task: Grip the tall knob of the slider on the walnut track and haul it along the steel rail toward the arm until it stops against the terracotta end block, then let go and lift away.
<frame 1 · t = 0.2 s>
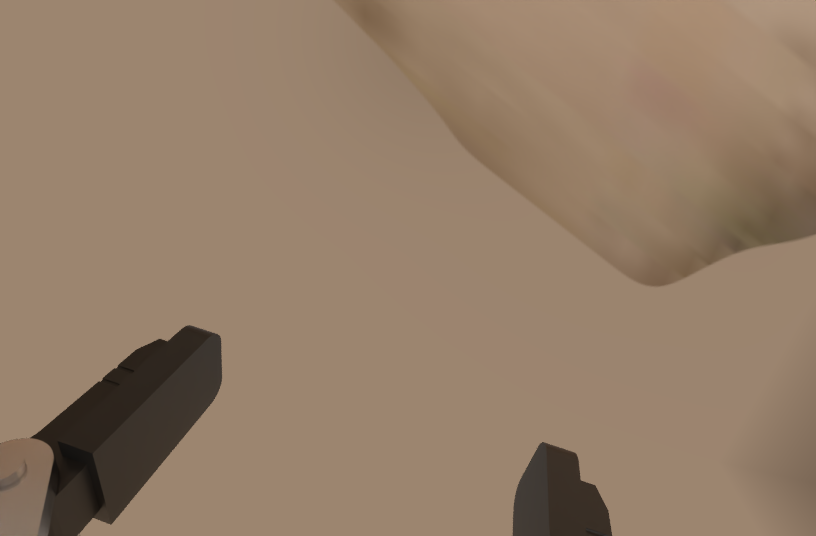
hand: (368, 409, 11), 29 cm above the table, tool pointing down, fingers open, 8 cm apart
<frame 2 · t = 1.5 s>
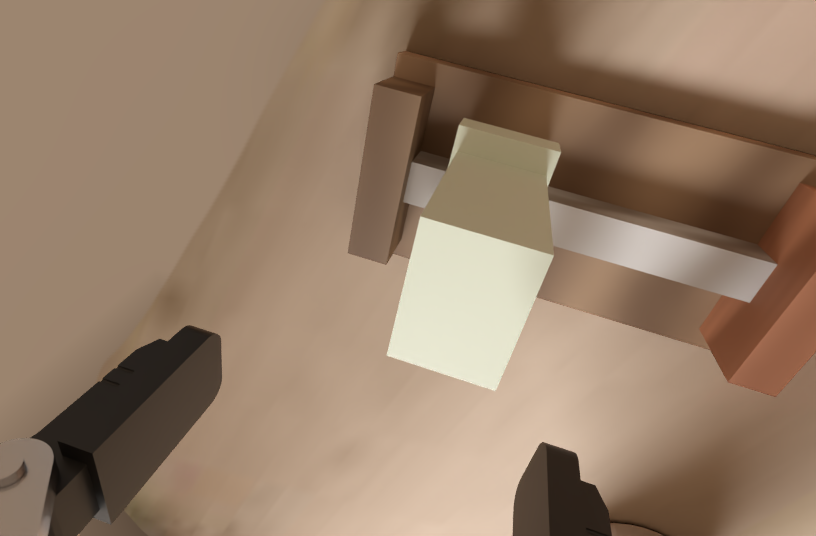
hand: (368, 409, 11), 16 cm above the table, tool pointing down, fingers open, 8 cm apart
slider: (478, 238, 17), point 7 cm above the table, slide at 0.0 cm
track: (572, 204, 23), on the table
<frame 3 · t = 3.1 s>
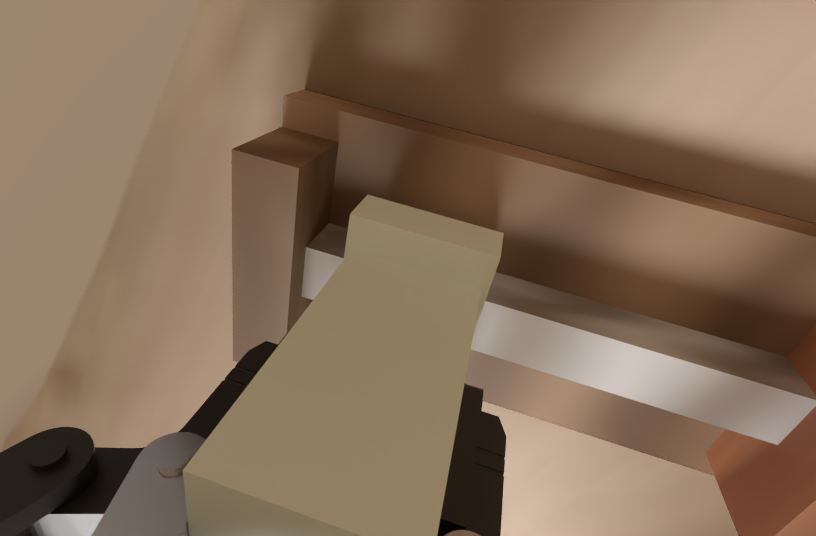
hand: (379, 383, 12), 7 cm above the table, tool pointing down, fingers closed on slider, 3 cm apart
slider: (381, 382, 12), point 7 cm above the table, slide at 0.0 cm, touching gripper
track: (535, 288, 17), on the table
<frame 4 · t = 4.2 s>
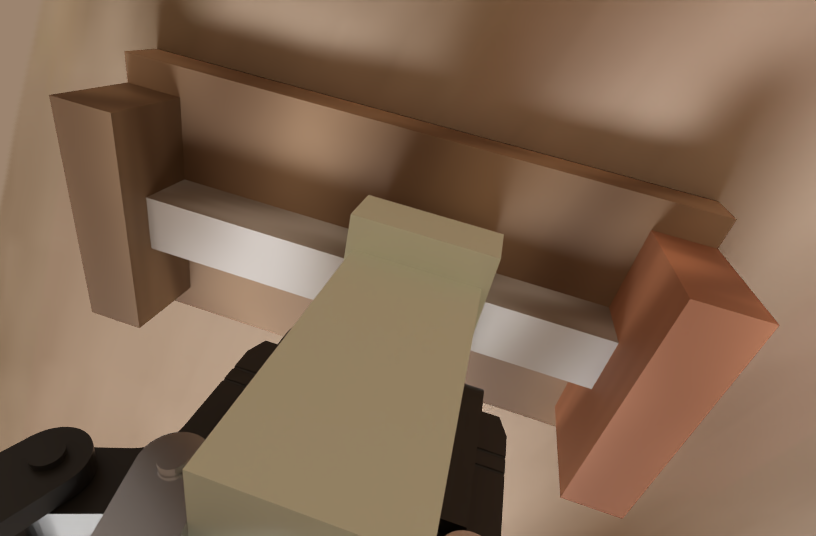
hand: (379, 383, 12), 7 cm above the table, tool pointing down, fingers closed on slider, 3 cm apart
slider: (380, 382, 12), point 7 cm above the table, slide at 5.9 cm, touching gripper
track: (392, 246, 18), on the table
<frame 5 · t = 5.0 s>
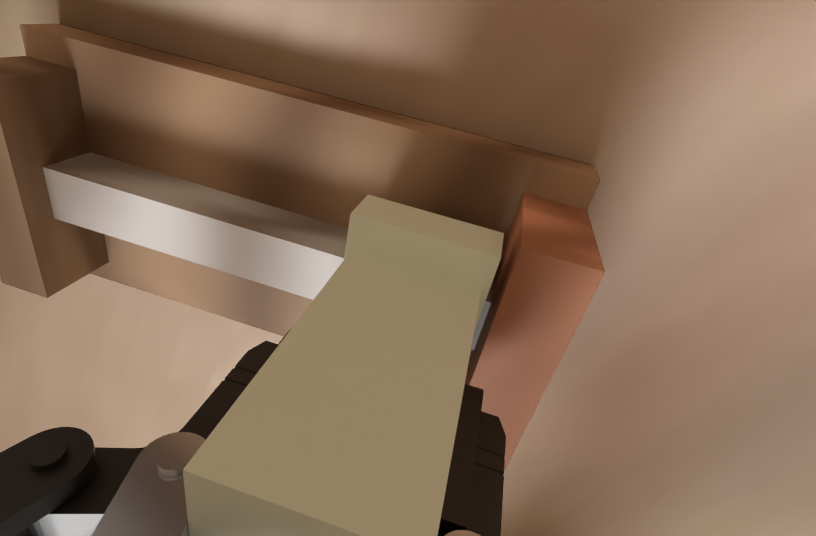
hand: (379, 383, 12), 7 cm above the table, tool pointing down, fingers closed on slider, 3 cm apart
slider: (381, 382, 12), point 7 cm above the table, slide at 9.8 cm, touching gripper
track: (299, 218, 18), on the table
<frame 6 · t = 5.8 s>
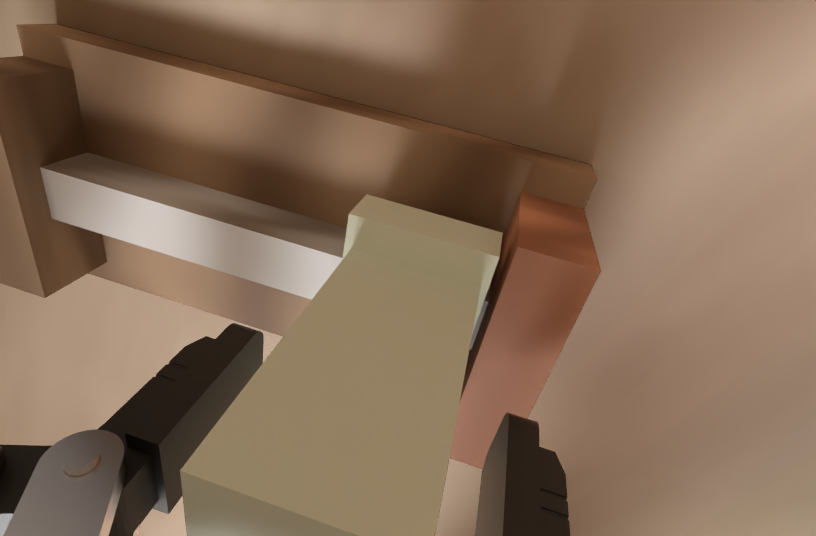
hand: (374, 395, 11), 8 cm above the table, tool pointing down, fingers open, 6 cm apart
slider: (379, 382, 12), point 7 cm above the table, slide at 9.9 cm
track: (296, 217, 18), on the table
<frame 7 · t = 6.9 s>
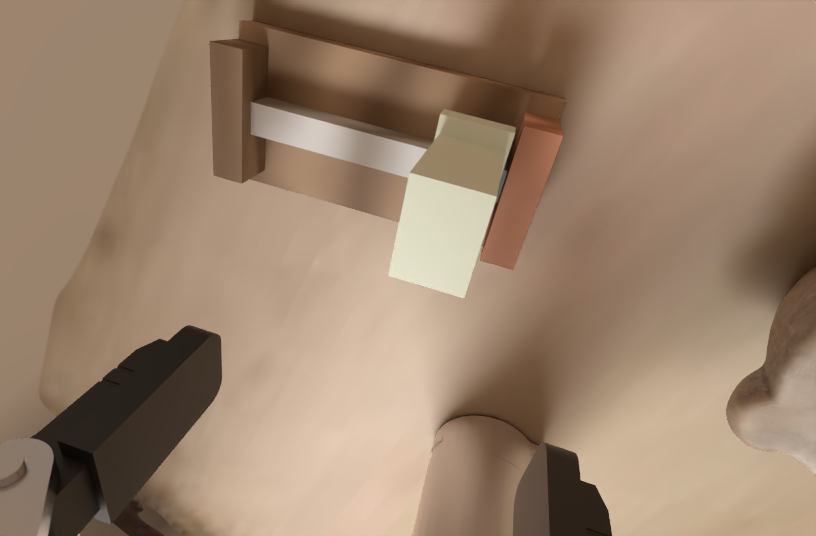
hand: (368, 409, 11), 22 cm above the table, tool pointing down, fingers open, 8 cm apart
slider: (455, 197, 24), point 7 cm above the table, slide at 9.9 cm
track: (388, 138, 30), on the table
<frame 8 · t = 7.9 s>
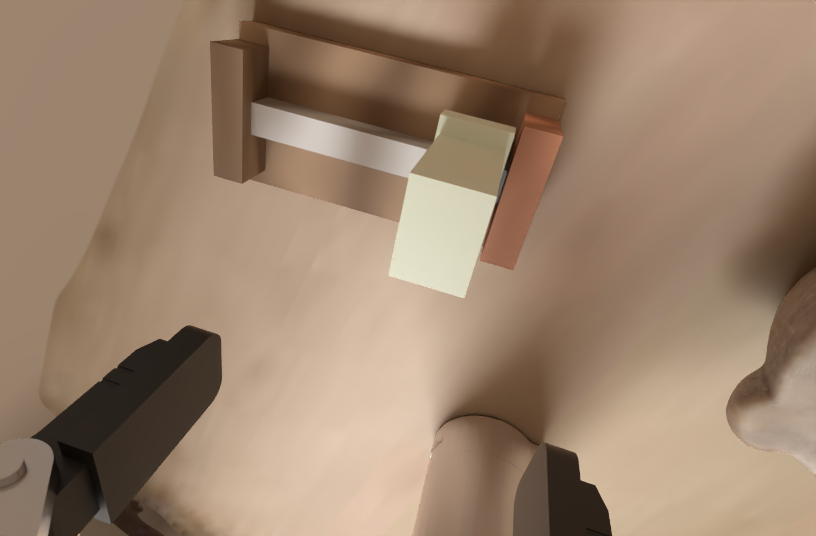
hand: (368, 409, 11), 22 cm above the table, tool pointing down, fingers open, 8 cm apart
slider: (455, 197, 24), point 7 cm above the table, slide at 9.9 cm
track: (388, 138, 30), on the table
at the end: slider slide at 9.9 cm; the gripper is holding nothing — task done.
